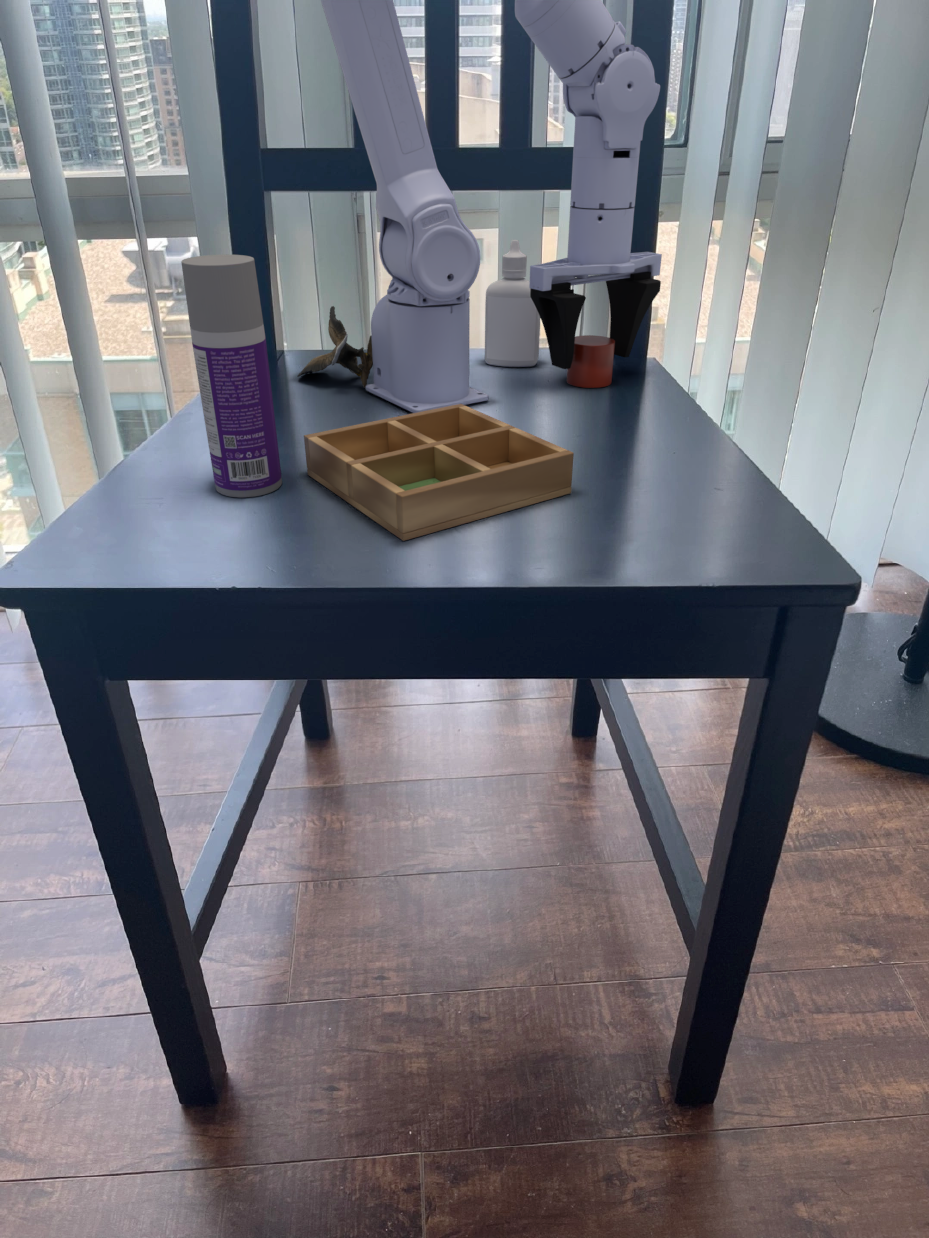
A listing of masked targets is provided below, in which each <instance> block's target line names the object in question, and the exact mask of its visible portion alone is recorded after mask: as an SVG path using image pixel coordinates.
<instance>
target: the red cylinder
mask: <svg viewBox="0 0 929 1238" xmlns="http://www.w3.org/2000/svg"><path fill="white" fill-rule="evenodd" d="M614 348H615V340H613V339H611V338H610V337H608V336H604V335H603V336H602V335H591V334H589V335H587V334H585V335H584V334H583V335H577V336H576V335H575V343H574V353H573V360H572V364H571V368H569V369H566V384H569V385H571V386H574V387H577V388H583V389H584V388H585V389H599V388H605V387H607V386H610V385H612V380H613V371H614V370H613V368H614V359H615V355H614Z"/></svg>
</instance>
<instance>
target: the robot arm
mask: <svg viewBox="0 0 929 1238" xmlns="http://www.w3.org/2000/svg"><path fill="white" fill-rule="evenodd" d="M394 2H395V1H394V0H320V3H321V6H322V9H323V12H324V16H325V19H326V23H327V26H328V29H329V33H330V36H331V39H332V42H333V45H334V49H335V51H336V55H337V58H338V62H339V65H340V68H341V69H340V70H341V72H342V74H343V75H342V76H343V78H344V81H345V84H346V88H347V91H348V94H349V99H350V102H351V105H352V107H353V111H354V114H355V117H356V121H357V124H358V128H359V130H360V134H361V137H362V140H363V143H364V148H365V150H366V153H367V157H368V160H369V164H370V166H371V170H372V173H373V177H374V180H375V183H376V194H375V209H376V214H377V217H378V220H379V230H380V232H379V239H378V255H379V258H380V262H381V264H382V266H383V268H384V270H385V271H386V273H387V274H388V275H389V276H390V277H391V280H390V282H389V285H388V286H387V287H388V288H387V289H386V294H385V295H383V297H381V298H380V300H378V302H377V303H376V305H375V306H374V309H373V311H372V315H371V319H370V333H371V334H370V336H371V339H372V357H373V366H372V373H373V374H372V375H373V383H370V384H367V385H366V387H365V391H366V392H369V393H370V394H373V395H374V396H377V397H379V398H381V399H382V400H385V401H388V402H390V403H392V404H394V405H396V406H398V407H400V408H402V409H404V410H406V411H408V412H409V413H411V414H412V413H417V412H422V411H427V410H432V409H437V408H442V407H447V406H452V405H457V404H463V405H465V406H468V405H471V404H476V403H481V402H486V401H489V394H487V393H485V392H482V391H480V390H478V389H476V388H473V387H470V327H471V326H470V323H471V321H470V314H471V313H470V311H471V309H470V306H471V305H470V303H471V301H470V295H471V294H470V290H469V289H470V288H471V287H472V286H473V284H474V283H475V281H476V280H477V277H478V274H479V271H480V267H481V251H480V246H479V243H478V241H477V238H476V236H475V235H474V233H473V232H472V230H471V229H470V228H469V227H468V226H467V225H466V224H465V223H464V221H463V219H462V218H461V215H460V212H459V209H458V207H457V201H456V198H455V196H454V195H453V193H452V191H451V190H450V187H449V186H448V184H447V183H446V181H445V178H443V176H442V175H441V173H440V171H439V169H438V165H437V161H436V158H435V154H434V150H433V146H432V143H431V138H430V135H429V132H428V127H427V123H426V120H425V116H424V112H423V109H422V105H421V101H420V97H419V94H418V93H419V92H418V90H417V89H418V88H417V86H416V82H415V78H414V74H413V71H412V66H411V63H410V59H409V54H408V51H407V48H406V44H405V40H404V36H403V34H402V29H401V26H400V21H399V18H398V14H397V13H398V12H397V10H396V5H395V3H394ZM514 16H515V19H516V20H517V21H518V23H519V24H520V25H521V27H522V29H523V30H524V31H525V32H526V34H527V35H528V37H529V38H530V40H531V41H532V43H533V44H534V45H535V47H536V48H537V49H538V51H539V52H540V54H541V55H542V56H543V58H544V60H545V61H546V62H547V64H548V65H549V67H550V68H551V69H552V70H553V72H554V74H555V75H556V76H557V78H558V79H559V81H560V82H561V83H562V97H563V103H564V106H565V110H566V112H568V113H570V114H571V115H572V116H573V117H574V135H573V149H572V151H573V152H572V166H571V167H572V168H571V183H570V184H571V185H570V205H569V221H568V223H569V224H568V237H567V239H568V240H567V242H568V243H567V257H564V258H561V259H556V260H552V261H548V262H543V263H539V264H538V263H537V264H532V265H530V266H529V281H530V284H529V288H531V289H530V297H531V299H532V301H533V303H534V304H535V307H536V309H537V311H538V313H539V315H540V322H541V323H542V326H543V329H544V333H545V337H546V341H547V346H548V350H549V358H550V363H551V366H553V367H556V368H559V369H562V370H567V369H569V368H571V364H572V360H573V353H574V343H575V337H576V333H577V332H576V331H577V328H578V323H579V319H580V316H581V312H582V309H583V306H584V304H585V301H586V299H587V297H586V295H583V294H579V293H575V289H574V288H572V286H579V285H586V284H594V283H601V282H605V284H606V289H607V294H608V300H609V301H608V302H609V311H610V312H609V313H610V322H609V323H610V324H609V338H611V339H613V340H615V348H614V356H618V357H622V358H624V359H625V358H629V357H630V355H631V353H632V349H633V346H634V343H635V341H636V338H637V335H638V332H639V329H640V327H641V324H642V322H643V320H644V318H645V315H646V313H647V312H648V310H649V308H650V306H651V304H653V302H654V301H655V298H656V297H657V296H658V295H659V293H660V292H661V284H662V280H660V279H656V278H652V277H658V276H660V275H661V266H662V256H663V254H662V253H657V252H651V251H642V252H632V251H631V250H632V241H633V228H634V218H635V217H634V216H635V206H636V198H637V197H636V195H637V186H638V185H637V184H638V175H639V173H638V172H639V163H640V162H639V161H640V152H641V141H643V136H644V128H645V124H646V121H647V119H648V117H650V115H651V114H652V112H653V110H654V108H655V107H656V104H657V102H658V101H659V100H658V99H659V95H660V91H661V85H660V84H659V83H657V82H656V77H655V69H654V68H655V67H654V65H653V62H652V61H651V59H650V57H649V54H648V53H646V51H644V49H642V48H641V47H639V46H635V45H634V44H631V43H630V44H629V43H627V44H626V37H625V36H626V34H627V30H626V28H625V26H624V25H623V23H622V22H621V21H615V20H614V18H613V17H612V15H611V13H610V11H609V10H608V9H607V7H606V5H605V4H604V2H603V0H514Z"/></svg>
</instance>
